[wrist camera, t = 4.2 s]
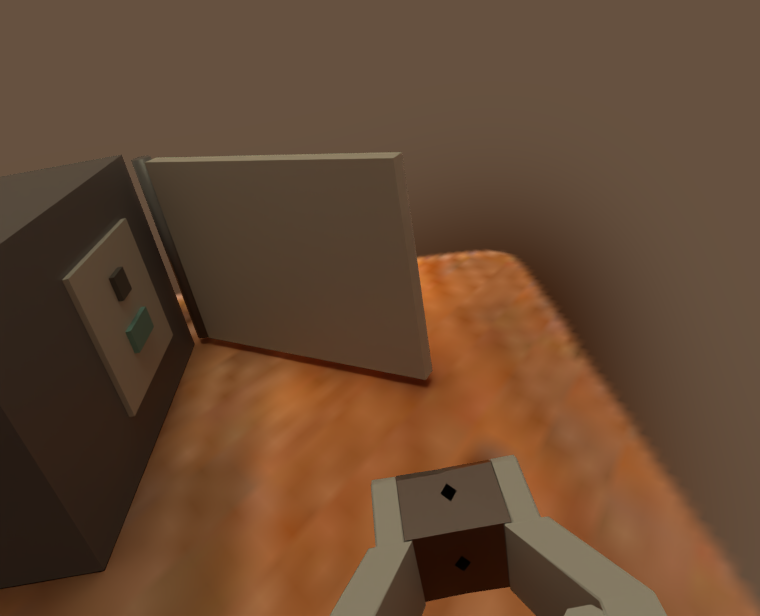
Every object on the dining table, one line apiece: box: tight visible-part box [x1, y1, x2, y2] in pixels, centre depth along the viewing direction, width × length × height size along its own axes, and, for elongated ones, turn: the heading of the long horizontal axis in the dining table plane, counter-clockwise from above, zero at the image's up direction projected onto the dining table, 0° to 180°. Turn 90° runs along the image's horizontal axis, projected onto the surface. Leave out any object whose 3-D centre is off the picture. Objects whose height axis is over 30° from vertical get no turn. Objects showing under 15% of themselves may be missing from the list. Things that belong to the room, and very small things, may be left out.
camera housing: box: [0, 155, 194, 588], centre depth 26 cm, size 18×10×12 cm, turn 4°
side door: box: [131, 152, 432, 380], centre depth 29 cm, size 16×1×11 cm, turn 61°
